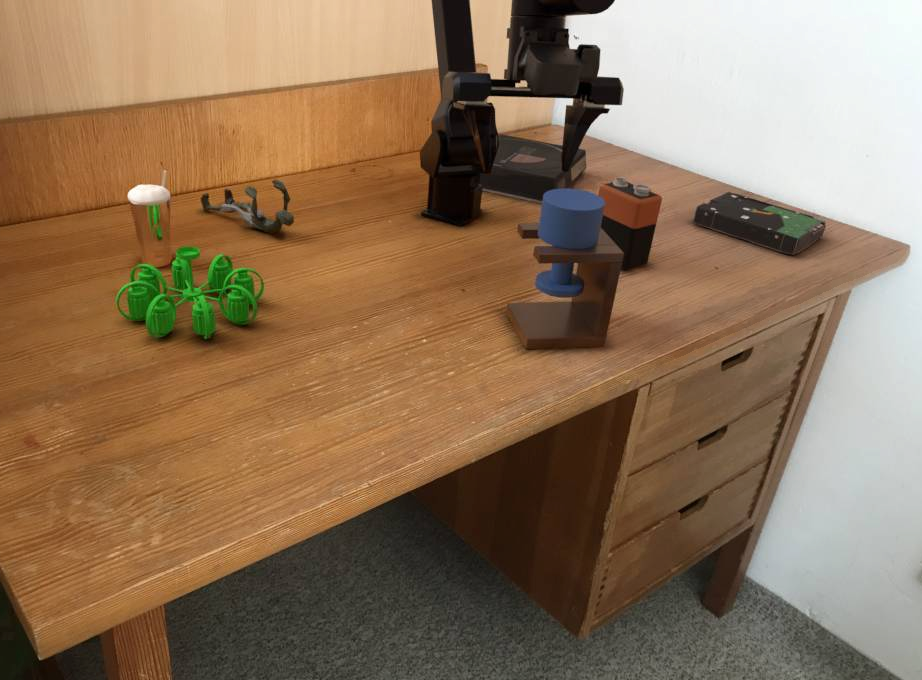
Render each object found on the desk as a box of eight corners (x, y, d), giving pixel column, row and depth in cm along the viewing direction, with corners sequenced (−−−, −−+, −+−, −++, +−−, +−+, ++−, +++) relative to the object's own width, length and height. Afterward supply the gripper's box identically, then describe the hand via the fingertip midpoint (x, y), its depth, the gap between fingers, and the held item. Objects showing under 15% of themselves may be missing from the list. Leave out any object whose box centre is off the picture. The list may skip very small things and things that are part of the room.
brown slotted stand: (525, 349, 84) (540, 254, 78) (506, 312, 90) (517, 222, 85) (604, 346, 85) (624, 253, 80) (579, 310, 92) (596, 221, 86)
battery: (624, 272, 101) (641, 194, 96) (585, 252, 106) (599, 176, 100) (648, 265, 103) (666, 188, 98) (609, 246, 108) (624, 171, 103)
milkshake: (190, 256, 98) (181, 174, 92) (160, 273, 94) (149, 188, 88) (159, 248, 99) (149, 167, 94) (128, 264, 95) (116, 180, 90)
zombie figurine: (229, 155, 109) (304, 187, 101) (231, 204, 113) (303, 239, 105) (195, 162, 106) (269, 196, 98) (198, 212, 109) (270, 249, 101)
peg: (520, 289, 84) (533, 200, 79) (543, 269, 89) (557, 184, 83) (575, 305, 82) (592, 215, 77) (596, 284, 86) (613, 197, 81)
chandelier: (110, 291, 89) (100, 231, 85) (246, 273, 95) (243, 216, 91) (130, 359, 78) (120, 293, 74) (284, 334, 84) (282, 272, 80)
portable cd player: (554, 206, 119) (558, 179, 117) (447, 183, 125) (449, 157, 123) (585, 175, 132) (589, 150, 130) (486, 155, 138) (488, 131, 136)
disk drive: (691, 225, 116) (794, 257, 108) (695, 206, 115) (800, 237, 107) (723, 208, 123) (822, 237, 115) (727, 190, 122) (829, 218, 113)
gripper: (471, 10, 76) (462, 181, 82) (656, 19, 80) (635, 182, 86) (444, 15, 87) (437, 167, 92) (609, 22, 90) (593, 168, 96)
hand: (525, 171), depth 91 cm, fingers open, 9 cm apart
